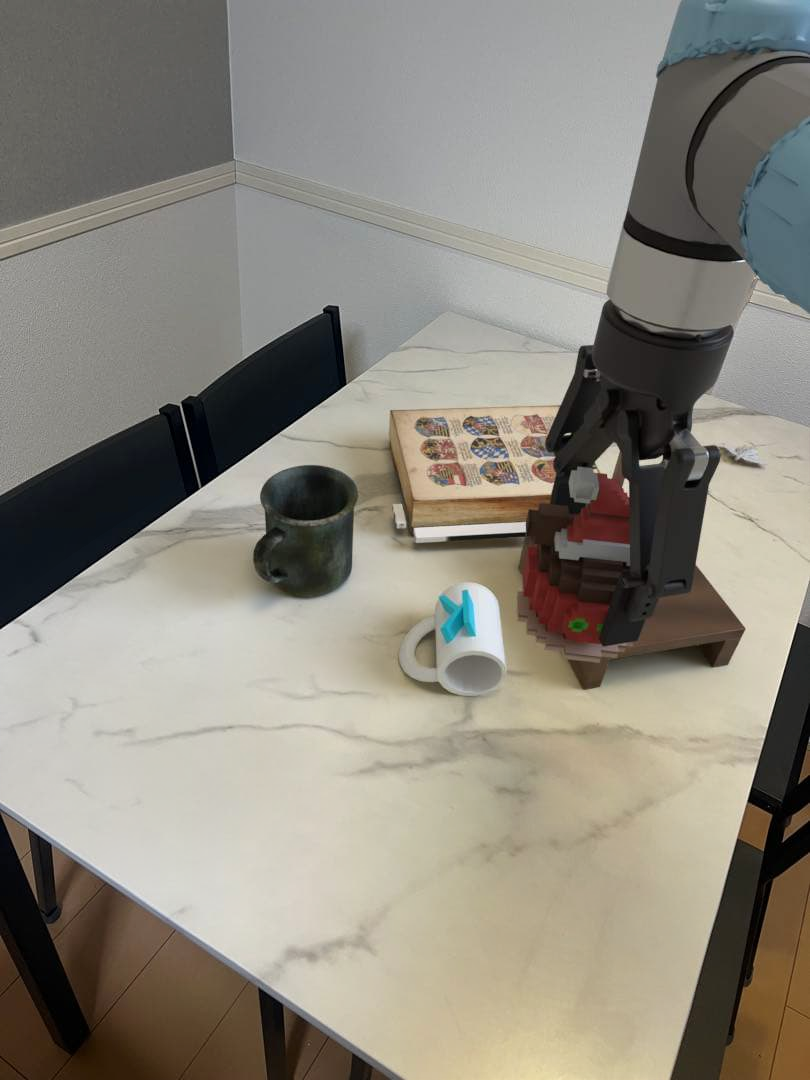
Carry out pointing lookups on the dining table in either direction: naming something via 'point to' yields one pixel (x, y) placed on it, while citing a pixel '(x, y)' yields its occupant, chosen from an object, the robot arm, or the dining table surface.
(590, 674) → the shelf
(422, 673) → the mug
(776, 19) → the robot arm
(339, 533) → the mug
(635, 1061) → the dining table surface
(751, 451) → the flower
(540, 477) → the book
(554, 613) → the cake
